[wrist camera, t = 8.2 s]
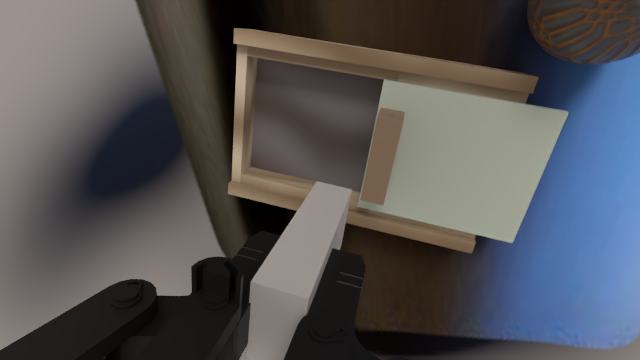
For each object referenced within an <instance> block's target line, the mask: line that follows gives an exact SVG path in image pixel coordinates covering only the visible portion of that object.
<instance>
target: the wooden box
mask: <svg viewBox="0 0 640 360" xmlns="http://www.w3.org/2000/svg"><path fill="white" fill-rule="evenodd" d="M234 43H235V44H237V64H236V88H235V112H234V136H233V160H232V181H230V182H229V183H228V194H231V195H235V196H239V197H243V198H247V199H251V200H255V201H259V202H263V203H267V204H271V205H275V206H279V207H283V208H288V209H292V210H296V211H298V209H299V208H300V206H301V205H302V203H303V202H304V200H305V199H306V197H307V196H308V194H309V192H310V191H311V189H312V188H313V186H314V185H315V183H316V182H317V181H318V182H322V183H327V184H331V185H335V186H340V187H344V188H348V189H352V193H351V198H350V203H349V208H348V213H347V219H346V223H349V224H353V225H357V226H361V227H365V228H369V229H373V230H377V231H381V232H385V233H389V234H393V235H397V236H402V237H406V238H410V239H414V240H418V241H422V242H426V243H430V244H434V245H438V246H442V247H446V248H450V249H454V250H458V251H463V252H467V253H471V254H472V252H473V249H474V247H475V244H476V241H475V236H476V235H475V234H471V233H467V232H463V231H458V230H454V229H450V228H446V227H442V226H437V225H433V224H429V223H425V222H420V221H416V220H412V219H408V218H404V217H399V216H395V215H391V214H387V213H382V212H378V211H374V210H370V209H365V208H361V207H358V202H359V197H360V193H361V188H362V183H363V178H364V173H365V169H366V164H367V159H368V154H369V149H370V144H371V140H372V135H373V130H374V125H375V120H376V116H377V111H378V106H379V101H380V96H381V92H382V87H383V82H384V79H387V80H393V81H398V82H404V83H410V84H416V85H421V86H427V87H433V88H439V89H445V90H450V91H456V92H462V93H468V94H473V95H479V96H485V97H491V98H496V99H502V100H508V101H514V102H519V103H525V104H526V101H527V98H528V96H529V93H532V94H533V92H534V89H535V86H536V84H537V81H538V78H539V77H537V76H534V75H530V74H527V73H522V72H516V71H510V70H504V69H497V68H491V67H485V66H479V65H472V64H466V63H460V62H454V61H447V60H441V59H435V58H429V57H422V56H416V55H410V54H403V53H397V52H391V51H385V50H378V49H372V48H366V47H360V46H353V45H347V44H341V43H335V42H328V41H322V40H316V39H310V38H303V37H297V36H291V35H285V34H278V33H272V32H266V31H260V30H253V29H240V28H234Z"/></svg>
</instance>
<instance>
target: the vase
mask: <svg viewBox="0 0 640 360" xmlns="http://www.w3.org/2000/svg"><path fill="white" fill-rule="evenodd" d="M527 19H528V25H529V28H530V31H531V33H532V36H533V37H534V39H535V40H536V42H537V43H538V44H539V46H540V47H541V48H542V49H543V50H545V51H546V52H547V53H549V54H550V55H552V56H554V57H556V58H558V59H561V60H564V61H567V62H572V63H577V64H604V63H610V62H614V61H618V60H622V59H625V58H628V57H631V56H633V55H636V54H638V53H640V0H528V7H527Z"/></svg>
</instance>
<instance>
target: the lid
mask: <svg viewBox="0 0 640 360" xmlns="http://www.w3.org/2000/svg"><path fill="white" fill-rule="evenodd" d="M568 114H569V112H568V111H565V110H560V109H554V108H548V107H543V106H537V105H531V104H525V103H519V102H514V101H508V100H502V99H496V98H491V97H485V96H479V95H473V94H468V93H462V92H456V91H450V90H445V89H439V88H433V87H427V86H421V85H416V84H410V83H404V82H398V81H393V80H387V79H384V82H383V87H382V92H381V96H380V101H379V106H378V111H377V116H376V120H375V125H374V130H373V135H372V140H371V144H370V149H369V154H368V159H367V164H366V169H365V173H364V178H363V183H362V188H361V193H360V197H359V202H358V207H361V208H365V209H370V210H374V211H378V212H382V213H387V214H391V215H395V216H399V217H404V218H408V219H412V220H416V221H420V222H425V223H429V224H433V225H437V226H442V227H446V228H450V229H454V230H458V231H463V232H467V233H471V234H475V235H480V236H484V237H488V238H492V239H497V240H501V241H505V242H509V243H513V241H514V239H515V236H516V234H517V232H518V230H519V227H520V225H521V223H522V220H523V218H524V216H525V213H526V211H527V209H528V206H529V204H530V202H531V199H532V197H533V195H534V192H535V190H536V188H537V185H538V183H539V181H540V178H541V176H542V174H543V172H544V169H545V167H546V165H547V162H548V160H549V158H550V155H551V153H552V151H553V148H554V146H555V144H556V141H557V139H558V137H559V134H560V132H561V130H562V127H563V125H564V123H565V120H566V118H567V116H568Z"/></svg>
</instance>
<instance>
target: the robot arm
mask: <svg viewBox="0 0 640 360" xmlns="http://www.w3.org/2000/svg"><path fill="white" fill-rule="evenodd" d="M351 193H352V189H348V188H344V187H340V186H335V185H331V184H327V183H322V182H318V181H317V182H316V183H315V185H314V186H313V188H312V189H311V191H310V192H309V194H308V196H307V197H306V199H305V200H304V202H303V203H302V205H301V206H300V208H299V209H298V211H297V212H296V214H295V215H294V217H293V218H292V220H291V221H290V223H289V224H288V226H287V227H286V229H285V230H284V232H283V233H282V235H281V236H280V235H276V234H273V233H269V232H265V231H261V232H259V233H257V234H255V235H253V236H251V237H250V238H249V239H248V240H247V242H246V243H245V244H244V245H243V248H241V249H240V250H239V252H238V253H237V255H235V257H234V258H233V259H230V258H225V257H211V258H206V259H204V260H201V261H198V262H197V263H196V264H194V265H193V266H192V293H191V294H190V295H188V296H157V293H156V287H154V285H153V284H152V283H150V282H148V281H145V280H141V279H139V280H138V279H130V280H125V281H121V282H118V283H116V284H113V285H111V286H109V287H107V288H106V289H104V290H102V291H101V292H99V293H97V294H95V295H94V296H92V297H90V298H89V299H87V300H85V301H83V302H82V303H80V304H78V305H77V306H75V307H73V308H72V309H70V310H68V311H66V312H65V313H63V314H61V315H60V316H58V317H57V318H55V319H53V320H51V321H49V322H48V323H46V324H44V325H43V326H41V327H39V328H38V329H36V330H34V331H32V332H31V333H29V334H27V335H26V336H24V337H22V338H20V339H19V340H17V341H15V342H14V343H12V344H10V345H9V346H7V347H5V348H4V349H2V350H0V360H239V358H240V357H241V355H242V353H243V351H244V349H245V347H246V356H245V358H246V359H248V360H380V359H378V358H377V357H375V356H373V355H372V354H371V353H369V352H368V351H367V350H365V349H364V348H363V346H362V345H361V344H360V343H359V341H358V340H357V338H356V336H355V332H354V321H355V316H356V311H357V306H358V301H359V296H360V292H361V287H362V282H363V277H364V272H365V267H366V266H365V264H364V261H363V259H362V256H361V255H357V254H353V253H349V252H345V251H342V250H340V247H341V244H342V239H343V234H344V229H345V224H346V219H347V213H348V208H349V203H350V198H351ZM387 360H408V359H405V358H401V357H396V358H389V359H387Z"/></svg>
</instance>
